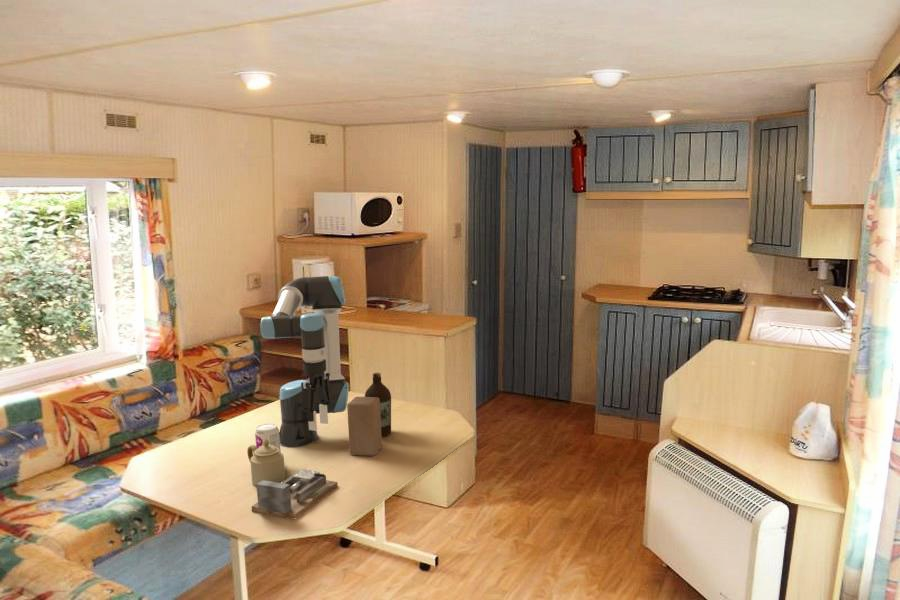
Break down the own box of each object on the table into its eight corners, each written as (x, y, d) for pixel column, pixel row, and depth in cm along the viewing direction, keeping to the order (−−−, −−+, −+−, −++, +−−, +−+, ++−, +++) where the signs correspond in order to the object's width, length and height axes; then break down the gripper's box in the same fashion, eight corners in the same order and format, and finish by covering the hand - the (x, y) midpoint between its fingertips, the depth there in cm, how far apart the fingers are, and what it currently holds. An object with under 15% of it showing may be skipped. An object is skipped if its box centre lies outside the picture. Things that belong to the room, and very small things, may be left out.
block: (374, 457, 249) (372, 404, 246) (349, 455, 251) (346, 403, 248) (382, 446, 259) (380, 396, 256) (358, 445, 261) (355, 395, 258)
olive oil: (362, 431, 276) (359, 372, 271) (387, 427, 280) (384, 368, 276) (371, 440, 266) (368, 378, 262) (396, 435, 271) (394, 374, 267)
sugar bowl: (235, 485, 228) (231, 443, 226) (251, 472, 239) (248, 431, 237) (276, 488, 225) (273, 445, 223) (290, 474, 236) (287, 433, 234)
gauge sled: (283, 494, 217) (282, 480, 216) (303, 480, 227) (302, 467, 226) (311, 499, 213) (310, 484, 212) (330, 484, 223) (329, 471, 222)
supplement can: (260, 473, 238) (257, 432, 235) (255, 465, 245) (252, 425, 243) (283, 468, 241) (280, 428, 239) (278, 460, 249) (275, 421, 246)
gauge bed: (250, 511, 209) (248, 482, 208) (297, 479, 232) (295, 453, 230) (294, 519, 203) (292, 490, 202) (337, 486, 226) (335, 459, 224)
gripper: (307, 368, 214) (312, 437, 218) (339, 353, 232) (343, 418, 235) (287, 366, 217) (292, 435, 221) (320, 352, 235) (324, 416, 238)
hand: (318, 426), depth 228 cm, fingers open, 6 cm apart
